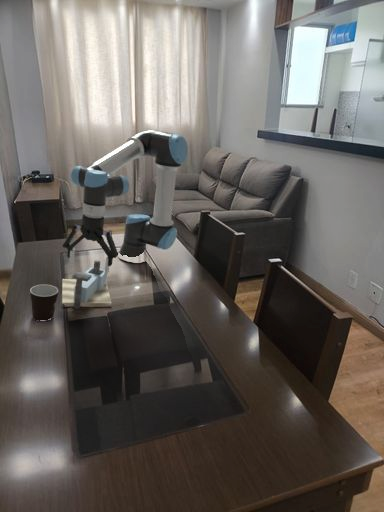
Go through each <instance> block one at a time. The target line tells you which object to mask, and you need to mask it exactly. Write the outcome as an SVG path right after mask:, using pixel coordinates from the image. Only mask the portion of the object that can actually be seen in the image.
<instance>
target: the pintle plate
mask: <svg viewBox="0 0 384 512" xmlns="http://www.w3.org/2000/svg"><path fill="white" fill-rule="evenodd" d="M93 268H94V269H93V274H96V275H99V271H100V269H101V260H98V259H95V260H94V261H93ZM91 276H92V275H89V274H85V272H84V273H83V272H80V271H76V272H75V273H74V274H73V275H72V276H71V278H62V281H61V285H62V286H61V287H62V288H61V305H62V304H64V305H65V306H64V307H73V308H74V309H75V310H78V309H80V308H81V307H87V308H88V307H89V308H90V307H93V308H94V307H98V308H99V307H102V308H103V307H104V308H105V307H106V308H108V307H109V308H110V307H112V304H113V303H112V299H111V295H110V292H109V285H108V283H107V281H106V284H105V285H104V286H103V288H102V289H101V290H96V292H95V293H94V294H93V295H92V296H91V297H90V298H89V300H88V301H87V302H86V303H83V302H80V301H81V290H82V281H88V280H89V279H90V278H91ZM75 285H76V291H75ZM74 291H75V301H74Z"/></svg>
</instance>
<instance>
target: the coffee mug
mask: <svg viewBox="0 0 384 512" xmlns="http://www.w3.org/2000/svg"><path fill="white" fill-rule="evenodd" d="M29 294H30V302H31V303H30V304H31V315H32V319H33V318H34V319H35V320H34V319H33V320H34V321H36V320H39V321H40V320H48V319H50V318H52V317H53V318H54V315H55V314H54V313H55V310H56V305H57V300H58V295H59V289H58V287H56V286H54V285H51V284H45V283H44V284H37V285H34V286H32V287H31V288H30V289H29ZM53 318H52V319H53ZM39 321H38V322H39Z"/></svg>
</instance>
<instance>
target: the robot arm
mask: <svg viewBox="0 0 384 512" xmlns="http://www.w3.org/2000/svg"><path fill="white" fill-rule="evenodd" d="M188 148H189V147H188V142H187V140H186V138H185V137H184V136H182V135H179V134H178V133H177V134H176V133H173V132H168V131H163V130H162V131H161V130H157V129H149V130H148V129H147V130H144V131H141V132H138V133H135V134H134V135H132V136H130V137H129V138H127V140H126V142H125V143H123V144H121V145H120V146H118V147H117V148H115V149H113V150H111V151H110V152H109V153H107V154H105V155H104V156H101V157H100V158H98V159H97V160H95V161H94V162H92V163H90V164H89V165H87V166H83V165H76V166H75V167H73V168H72V170H71V173H70V178H71V179H70V180H71V182H72V183H73V184H74V185H76V186H78V187H81V188H82V189H83V188H84V190H83V201H82V202H83V203H82V217H81V225H79V224H78V223H75V224H73V226H72V228H71V232H70V233H69V235H68V236H67V238H66V239H65V241H64V242H63V244H62V247H63V248H65V249H67V254H66V255H67V258H69V264H68V267H69V268H72V267H73V266H75V259H76V257H75V255H76V248H75V246H77V245H78V244H79V243H80V242H81V241H82V240H84V239H86V240H87V241H92V242H97V244H99V246H100V248H101V249H102V250H103V252H104V253H105V255H106V258H105V264H104V270H105V275H107V276H108V273H110V267H112V265H113V262H114V261H113V259H116V258H118V253H120V254H121V255H122V256H123V255H127V256H128V257H136V256H139V255H140V254H142V253H143V252H144V250H145V249H147V245H149V246H152V247H155V248H157V249H161V250H166V251H167V250H168V249H170V248H171V247H172V246H173V245H174V244H175V241H176V239H177V236H178V230H177V228H176V227H174V221H173V220H172V213H173V204H174V198H175V190H176V189H175V188H176V179H177V171H178V169H180V168H181V166H182V164H184V163H185V162H186V159H187V157H188V150H189V149H188ZM145 156H146V157H151V158H155V161H154V164H155V166H157V172H156V173H157V174H156V175H157V176H156V186H155V193H154V194H155V195H154V203H153V204H154V205H153V214H152V217H151V216H149V215H146V214H136V213H135V214H128V215H127V217H126V220H125V227H124V234H123V242H122V244H121V247H120V249H119V250H120V251H118V249H117V246H116V243H115V241H114V239H113V232H112V230H104V223H105V215H106V213H105V212H106V203H107V198H113V197H121V196H122V195H125V194H127V193H128V192H129V190H130V182H129V180H128V178H127V177H126V176H124V175H121V174H115V173H116V172H118V171H119V170H120V169H121V168H123V167H125V166H126V165H128V164H130V163H131V162H133V161H134V160H136V159H141V158H143V157H145ZM79 231H80V232H81V235H80V236H78V238H77V239H76V240H75V241H73V239H74V237H75V236H76V234H77V232H79ZM103 235H104V237H105V238H106V241H105V239H104V237H103ZM72 241H73V242H72ZM71 242H72V243H71ZM70 243H71V244H70ZM107 244H108V245H107Z"/></svg>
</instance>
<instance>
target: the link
mask: <svg viewBox="0 0 384 512" xmlns="http://www.w3.org/2000/svg"><path fill="white" fill-rule="evenodd" d="M93 269H94V266H93V267H92V266H91V267H89V268H88V269H87V270H86V271H85V272H84V273H85V274H89V275H92V276H91V278H90V279H89V280H88V281H82V290H81V301H80V302H83V303H86V302H87V301H88V300H89V298H90V297H91V296H92V295H93V294H94V293H95V292H96V290H101V289H102V288H103V286H104V285H105V284H106V282H107V277H108V274H107V275H105V269H101V268H100V271H99V275H96V274H93ZM75 291H76V285H75ZM75 291H74V301H75Z"/></svg>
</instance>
